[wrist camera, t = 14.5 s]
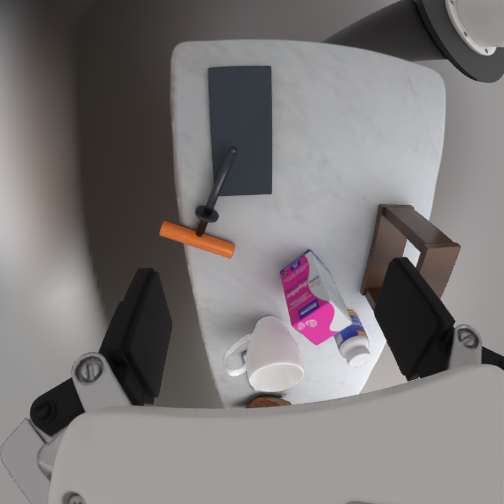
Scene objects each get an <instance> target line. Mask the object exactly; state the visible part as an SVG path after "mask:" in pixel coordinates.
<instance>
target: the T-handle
mask: <svg viewBox="0 0 504 504" xmlns="http://www.w3.org/2000/svg"><path fill="white" fill-rule="evenodd" d="M237 152H238V151H237V148H236V147H230V148H229V150H228V152H227V155H226V157H225V160H224V162H223V164H222V167H221V169H220V172H219V174H218V176H217V179H216V181H215V184H214V186H213V189H212V191H211V194H210V196H209V199H208V202H207V204H206V206H199V207H197V208H196V210H195V214H196V216H197V217H198V218H199V219H201V220H200V223H199V225H198V228H197V231H194V230H191V229H188V228H185V227H182V226H179V225H176V224H173V223H170V222H167V221H164V222H163V224H162V227H161V230H160V235H161V236H164V237H167V238H170V239H173V240H176V241H179V242H182V243H185V244H188V245H191V246H194V247H197V248H200V249H203V250H206V251H209V252H212V253H215V254H218V255H221V256H224V257H227V258H231V257H232V255H233V252H234V249H235V244H232V243H229V242H226V241H223V240H220V239H217V238H214V237H211V236H209V235H206V234H204V231H205V229H206V226H207V224H208V222H216V221H217V220H218V218H219V215H218V213H217V212H216V211H215V210H214V206H215V204H216V201H217V199H218V196H219V194H220V192H221V189H222V187H223V184H224V182H225V180H226V177H227V175H228V173H229V170H230V168H231V166H232V163H233V161H234V159H235V157H236V154H237Z"/></svg>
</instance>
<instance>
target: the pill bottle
mask: <svg viewBox="0 0 504 504" xmlns="http://www.w3.org/2000/svg"><path fill="white" fill-rule="evenodd" d="M347 311H348V313H349V315H350V318H351V320H352V324H350V325H349V326H347V327H346V328H344V329H343V330H341V331H340V332H338V333H336V334H335V335H334V337H335V340H336V343H337V346H338V349H339V352H340V354H341V356H342V357H343V358H346V360H347V363H348V365H349V367H351V368H357V367H361V366H363V365H365V364H366V363H367V362H368V361H369V360H370V358H371V355H370V352H369V350H368V348H369V345H370V342H369V339H368V337H367V335H366V333H365V330H364V328H363V326H362V324H361V322H360V319H359V317H358V315H357V314H356V313H355V312H354V311H351V310H347Z"/></svg>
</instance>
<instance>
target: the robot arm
mask: <svg viewBox="0 0 504 504" xmlns="http://www.w3.org/2000/svg"><path fill="white" fill-rule="evenodd" d="M445 6H446V9H447V13H448V15H449V18H450V20H451V22H452V24H453V26H454V28H455V29H456V31H457V33H458V34H459V36H460V37H461V38H462V40H463V41H464V42H465V43H466V44H467V45H468V46H469V47H470V48H471V49H472V50H473V51H475V52H476V53H478V54H480V55H487V56H488V55H492V54H493V53H494V52H495V50H496V47H504V0H445ZM374 315H375V318H376V320H377V322H378V324H379V326H380V328H381V330H382V332H383V334H384V336H385V338H386V340H387V342H388V344H389V347H390V349H391V351H392V353H393V355H394V357H395V360H396V362H397V364H398V366H399V369H400V371H401V373H402V374H403V375H404V376H406V379H407V381H411V380H414V381H411V382H408V383H404V384H401V385H397V386H393V387H389V388H385V389H382V390H377V391H373V392H369V393H364V394H359V395H354V396H349V397H344V398H338V399H332V400H326V401H320V402H313V403H305V404H296V405H287V406H276V407H262V408H242V409H191V408H168V407H150V406H144V403H146V404H153V403H154V398H155V397H158V396H159V392H160V387H161V381H162V375H163V370H164V365H165V360H166V354H167V350H168V344H169V340H170V335H171V331H172V320H171V316H170V313H169V309H168V306H167V302H166V299H165V295H164V292H163V288H162V284H161V281H160V277H159V273H158V272H155V271H154V269H153V268H139V269H138V270H137V272H136V274H135V276H134V278H133V280H132V283H131V284H130V286H129V289H128V291H127V293H126V295H125V297H124V300H123V301H122V302H120V303H119V305H118V307H117V309H116V311H115V314H114V316H113V318H112V320H111V323H110V325H109V327H108V330H107V333H106V335H105V337H104V340H103V342H102V345H101V347H100V350H99V353H96V352H89V353H86V354H83V355H82V356H80V357H79V358H78V359H77V360H76V361H75V362H74V364H73V366H72V370H71V375H72V377H71V378H70V379H68V380H66V381H65V382H63V383H61V384H60V385H58V386H56V387H55V388H53V389H51V390H50V391H48V392H46V393H45V394H43V395H41V396H40V397H38V398H37V399H36V400H35V401H34V402H33V404H32V406H31V409H30V419H29V420H28V419H27V418H25V419H24V420H23V421H22V422H21V423H20V425H19V426H18V427H17V428H16V429H15V430H14V431H13V433H12V434H11V435H10V436H9V437H8V438H7V439H6V441H5V442H4V443H3V444H2V446H1V449H0V457H1V460H2V463H3V464H4V466H5V467H6V469H7V471H8V472H9V474H10V475H11V477H12V478H13V480H14V481H15V483H16V484H17V486H18V487H19V488H20V490H21V491H22V493H23V494H24V495H25V497H26V498H27V499H28V501H29V502H30V503H31V504H504V356H501V355H499V354H497V353H495V352H493V351H491V350H489V349H487V348H485V347H483V346H482V340H481V337H480V335H479V333H478V332H477V331H476V330H475V329H474V328H472V327H471V326H469V325H465V324H463V325H462V324H461V325H458V326H457V327H456V328H454V327H453V325H454V323H455V320H454V318H453V317H452V316H451V314H450V313H449V311H448V310H447V309H446V307H445V306H444V304H443V303H442V301H441V300H440V299H439V297H438V296H437V295H436V293H435V292H434V291H433V289H432V288H431V287H430V285H429V284H428V283H427V282H426V280H425V279H424V278H423V277H422V275H421V274H420V273H419V271H418V270H417V269H416V268H415V267H414V265H413V264H412V263H411V262H410V261H409V259H408V258H407V257H396V258H393V259H392V261H391V262H389V264H388V268H387V271H386V274H385V278H384V281H383V284H382V287H381V290H380V293H379V296H378V299H377V302H376V305H375V308H374ZM418 377H420V379H418ZM415 379H418V380H415Z"/></svg>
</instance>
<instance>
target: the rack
mask: <svg viewBox="0 0 504 504" xmlns="http://www.w3.org/2000/svg"><path fill="white" fill-rule="evenodd" d="M407 239H408V240H409V241H410V242H411V243H412V244H413V245H414V246H415V247H416V248H417V249H418V250H419V251H420V252H421V254H420V257H419V260H418V263H417V266H416V269H417V270H418V271H419V273H420V274H421V275H422V277H423V278H424V279H425V280H426V282H427V283H428V284H429V285H430V287H431V288H432V289H433V291H434V292H435V293H436V295H437V296H438V297H439V299H440V298H441V296H442V294H443V292H444V289H445V287H446V285H447V283H448V280H449V278H450V275H451V273H452V270H453V267H454V265H455V262H456V259H457V257H458V254H459V251H460V248H461V246H460V245H459V244H458V243H454V242H453V241H452V240H451V239H449V238H448V237H447V236H446V235H445V234H443V233H442V232H441V231H440V230H439V229H438V228H436V227H435V226H434V225H433V224H432V223H430V222H429V221H428V220H427V219H425V218H424V217H423V216H422V215H420V214H419V213H418V212H417V211H415V210H414V207H412V206H411V205H383V204H379V210H378V215H377V221H376V226H375V231H374V236H373V241H372V246H371V250H370V255H369V259H368V263H367V267H366V272H365V276H364V279H363V283H362V287H361V291H360V293H361V295H362V296H363V295H365V297H366V299H367V300H368V302H369V304H370V306H371V308H372V309H373V311H374V308H375V305H376V302H377V299H378V296H379V293H380V290H381V287H382V284H383V281H384V278H385V274H386V271H387V268H388V264H389V262H391V261H392V259H393V258H396V257H402V255H403V252H404V248H405V244H406V241H407ZM386 342H387V341H386ZM387 344H388V342H387ZM388 346H389V344H388Z"/></svg>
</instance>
